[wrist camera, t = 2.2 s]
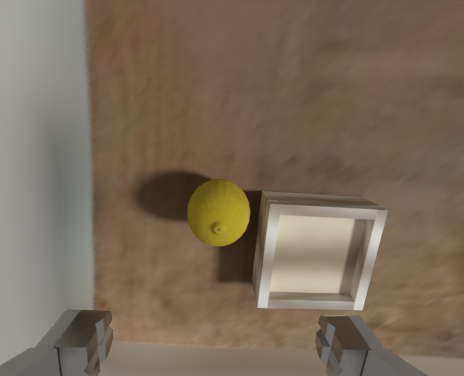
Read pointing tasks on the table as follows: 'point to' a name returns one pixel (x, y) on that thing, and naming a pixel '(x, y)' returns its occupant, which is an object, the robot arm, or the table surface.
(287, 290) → the base
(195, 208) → the lemon
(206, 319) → the table surface
